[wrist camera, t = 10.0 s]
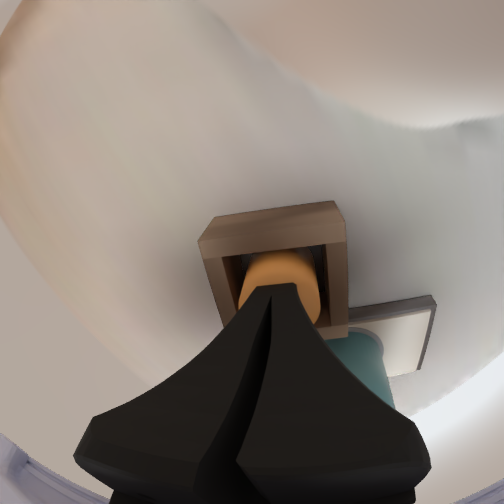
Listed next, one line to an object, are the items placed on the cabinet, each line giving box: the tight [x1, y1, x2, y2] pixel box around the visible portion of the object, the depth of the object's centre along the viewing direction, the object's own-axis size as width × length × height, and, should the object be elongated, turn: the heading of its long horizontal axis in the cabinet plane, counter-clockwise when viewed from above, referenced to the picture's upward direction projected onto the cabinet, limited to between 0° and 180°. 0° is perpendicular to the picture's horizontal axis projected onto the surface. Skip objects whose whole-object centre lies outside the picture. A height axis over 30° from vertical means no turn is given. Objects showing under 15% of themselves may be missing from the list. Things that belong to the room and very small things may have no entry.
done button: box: [239, 246, 320, 324], centre depth 11 cm, size 3×3×3 cm
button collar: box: [197, 201, 348, 340], centre depth 11 cm, size 5×5×2 cm
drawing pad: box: [348, 295, 437, 377], centre depth 14 cm, size 10×5×1 cm, turn 101°
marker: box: [324, 332, 396, 410], centre depth 10 cm, size 4×4×7 cm
